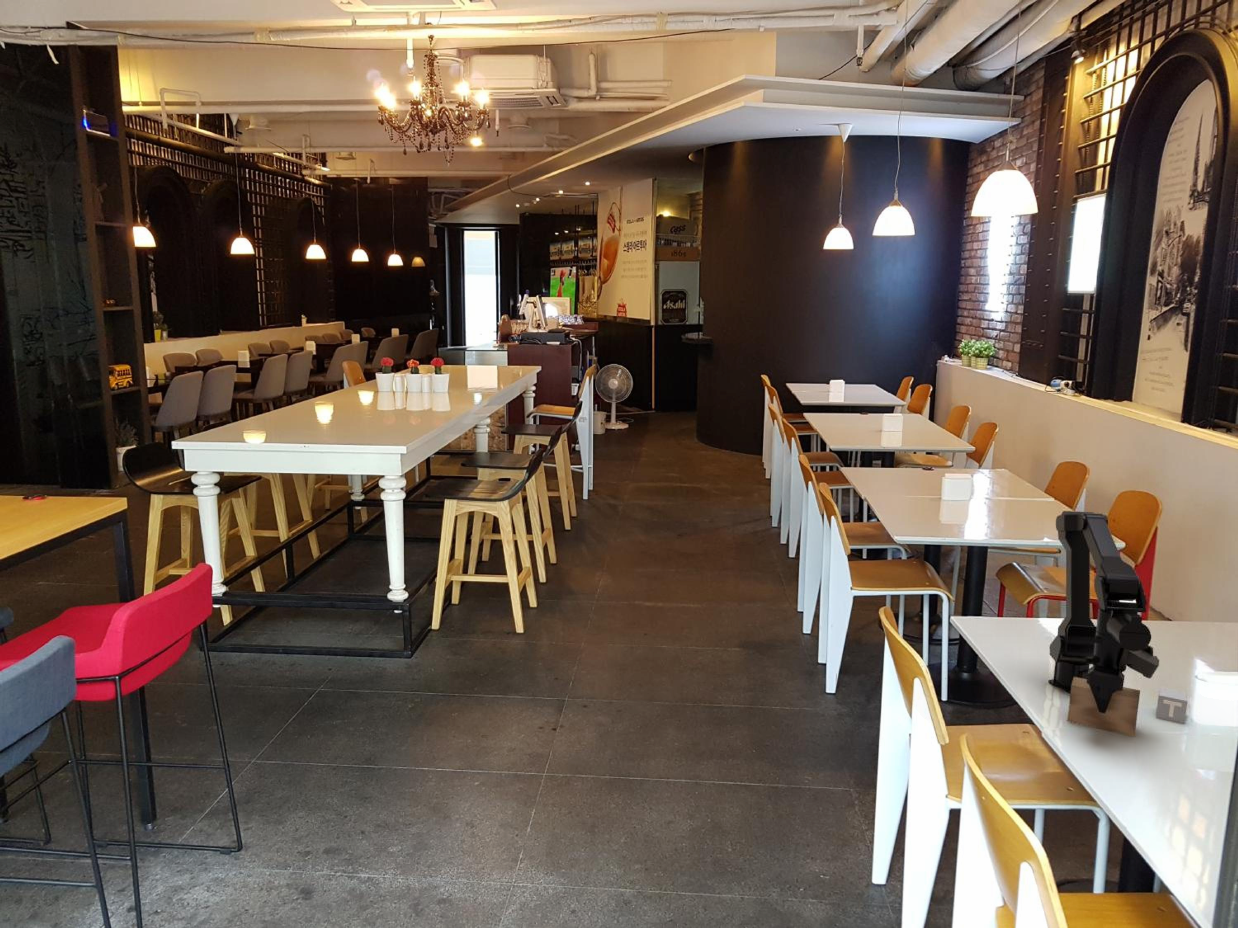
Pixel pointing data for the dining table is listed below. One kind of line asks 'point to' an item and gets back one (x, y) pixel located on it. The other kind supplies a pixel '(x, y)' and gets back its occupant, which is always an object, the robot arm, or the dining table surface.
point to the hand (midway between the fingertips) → (1103, 705)
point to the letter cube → (1172, 705)
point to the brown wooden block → (1117, 714)
